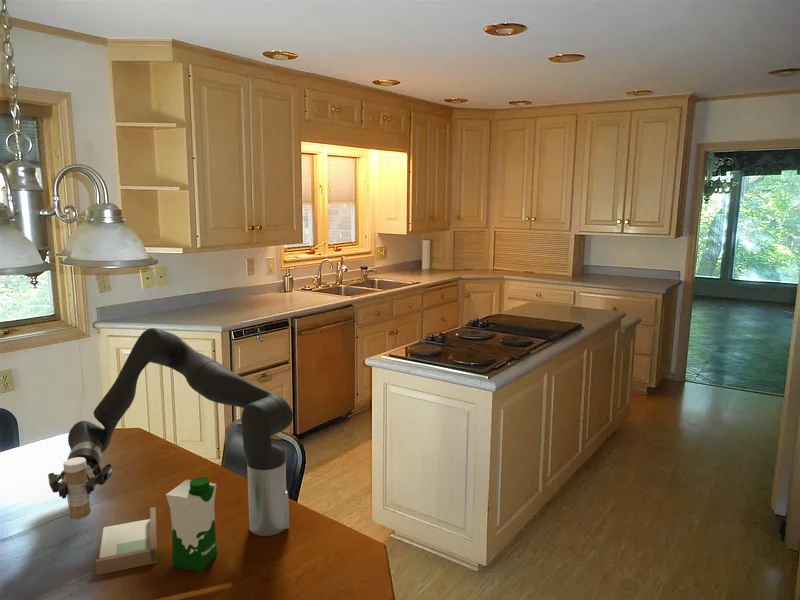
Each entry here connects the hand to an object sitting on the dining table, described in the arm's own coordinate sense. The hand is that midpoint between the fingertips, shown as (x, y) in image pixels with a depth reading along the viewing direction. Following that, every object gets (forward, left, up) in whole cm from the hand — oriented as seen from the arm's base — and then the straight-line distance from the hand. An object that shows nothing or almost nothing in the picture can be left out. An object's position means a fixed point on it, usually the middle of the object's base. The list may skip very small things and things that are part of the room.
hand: (76, 492), depth 134 cm
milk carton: (-24, +12, -16) cm, 31 cm away
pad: (-11, +3, -15) cm, 19 cm away
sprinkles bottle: (0, -3, -7) cm, 8 cm away
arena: (-10, 0, -16) cm, 19 cm away
